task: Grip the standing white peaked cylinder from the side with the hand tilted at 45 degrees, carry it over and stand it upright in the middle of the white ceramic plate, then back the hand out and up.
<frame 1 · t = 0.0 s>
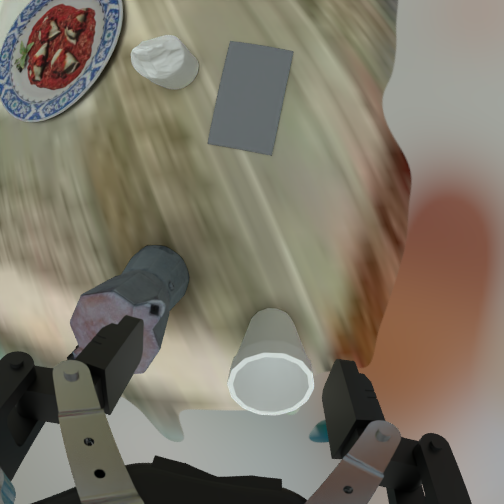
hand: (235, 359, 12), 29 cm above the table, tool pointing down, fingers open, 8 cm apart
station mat: (250, 95, 36), on the table
white peaked cylinder: (177, 71, 35), on the table
foam cup: (271, 326, 45), on the table
moka pot: (158, 276, 44), on the table
ceramic plate: (57, 45, 34), on the table
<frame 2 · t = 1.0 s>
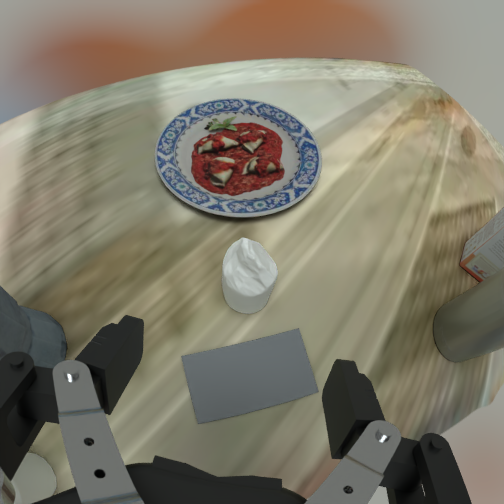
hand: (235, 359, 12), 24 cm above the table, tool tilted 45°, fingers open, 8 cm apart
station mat: (250, 376, 34), on the table
white peaked cylinder: (244, 292, 39), on the table
cracker box: (487, 275, 44), on the table
foam cup: (37, 474, 25), on the table
moka pot: (37, 347, 32), on the table
ceramic plate: (238, 156, 49), on the table
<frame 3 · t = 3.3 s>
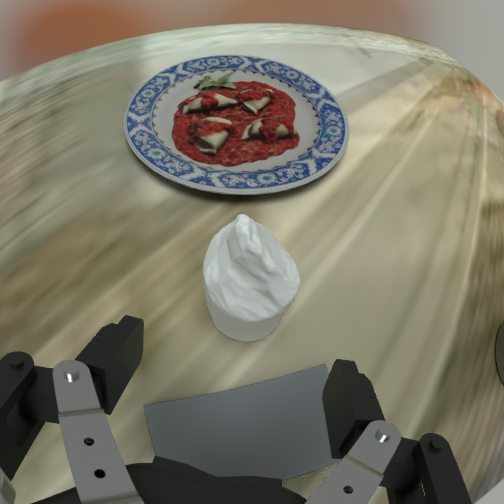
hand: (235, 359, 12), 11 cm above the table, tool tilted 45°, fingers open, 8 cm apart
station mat: (250, 438, 20), on the table
white peaked cylinder: (242, 308, 25), on the table
ceramic plate: (236, 120, 35), on the table
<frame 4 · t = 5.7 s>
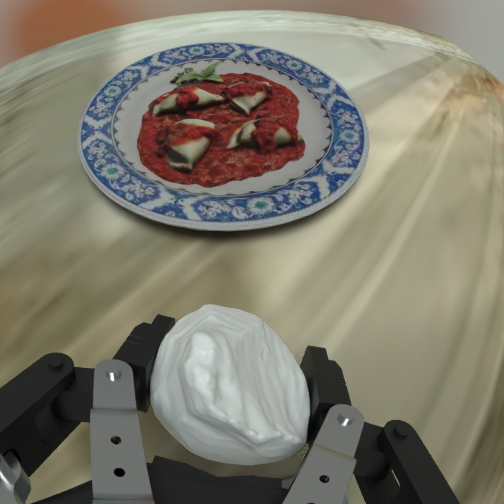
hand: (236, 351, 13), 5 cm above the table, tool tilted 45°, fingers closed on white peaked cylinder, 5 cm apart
white peaked cylinder: (226, 394, 17), on the table, touching gripper
ceramic plate: (223, 122, 27), on the table
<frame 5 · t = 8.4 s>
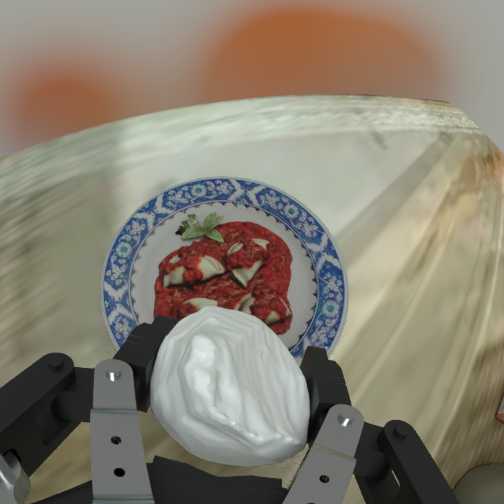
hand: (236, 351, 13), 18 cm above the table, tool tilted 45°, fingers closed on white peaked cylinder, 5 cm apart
white peaked cylinder: (225, 395, 17), point 13 cm above the table, touching gripper
ceramic plate: (224, 285, 34), on the table
when the fingers open (9 cm above the table, at t = 11.4 s): white peaked cylinder stays where it is, resting on ceramic plate.
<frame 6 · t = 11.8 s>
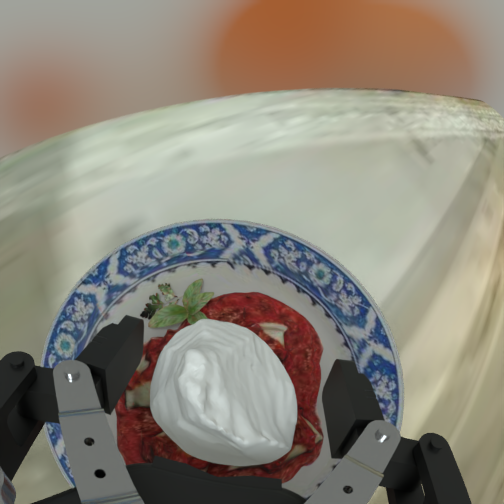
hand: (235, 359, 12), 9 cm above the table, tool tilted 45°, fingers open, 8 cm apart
white peaked cylinder: (223, 398, 18), point 2 cm above the table, touching ceramic plate
ceramic plate: (220, 397, 20), on the table, touching white peaked cylinder
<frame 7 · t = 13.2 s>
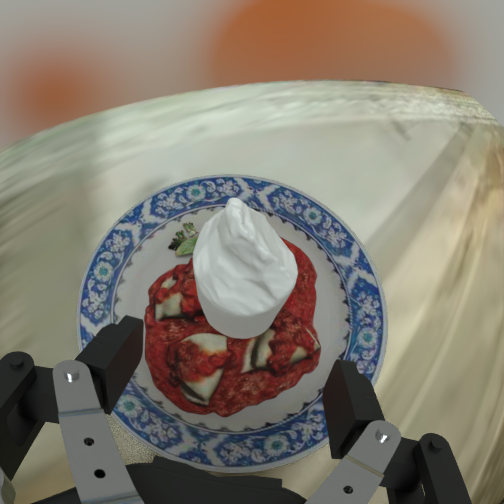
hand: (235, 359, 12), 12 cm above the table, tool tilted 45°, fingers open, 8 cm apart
white peaked cylinder: (237, 303, 24), point 2 cm above the table, touching ceramic plate
ceramic plate: (233, 313, 26), on the table, touching white peaked cylinder
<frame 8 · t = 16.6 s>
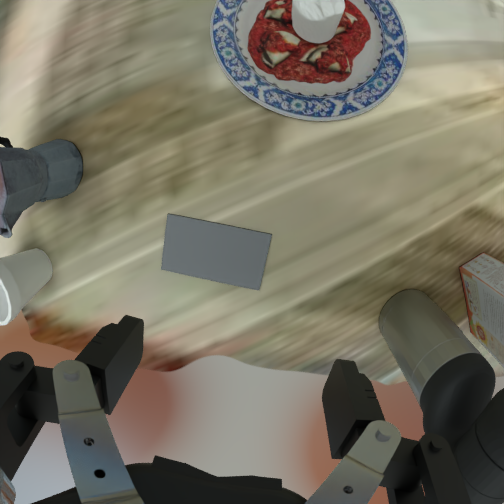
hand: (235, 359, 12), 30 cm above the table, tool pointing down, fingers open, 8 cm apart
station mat: (214, 252, 43), on the table
white peaked cylinder: (313, 24, 31), point 2 cm above the table, touching ceramic plate
cracker box: (477, 292, 43), on the table
foam cup: (39, 265, 46), on the table
moka pot: (60, 167, 40), on the table
ceramic plate: (310, 33, 34), on the table, touching white peaked cylinder
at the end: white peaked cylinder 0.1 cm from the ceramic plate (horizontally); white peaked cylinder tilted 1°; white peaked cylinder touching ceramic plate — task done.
